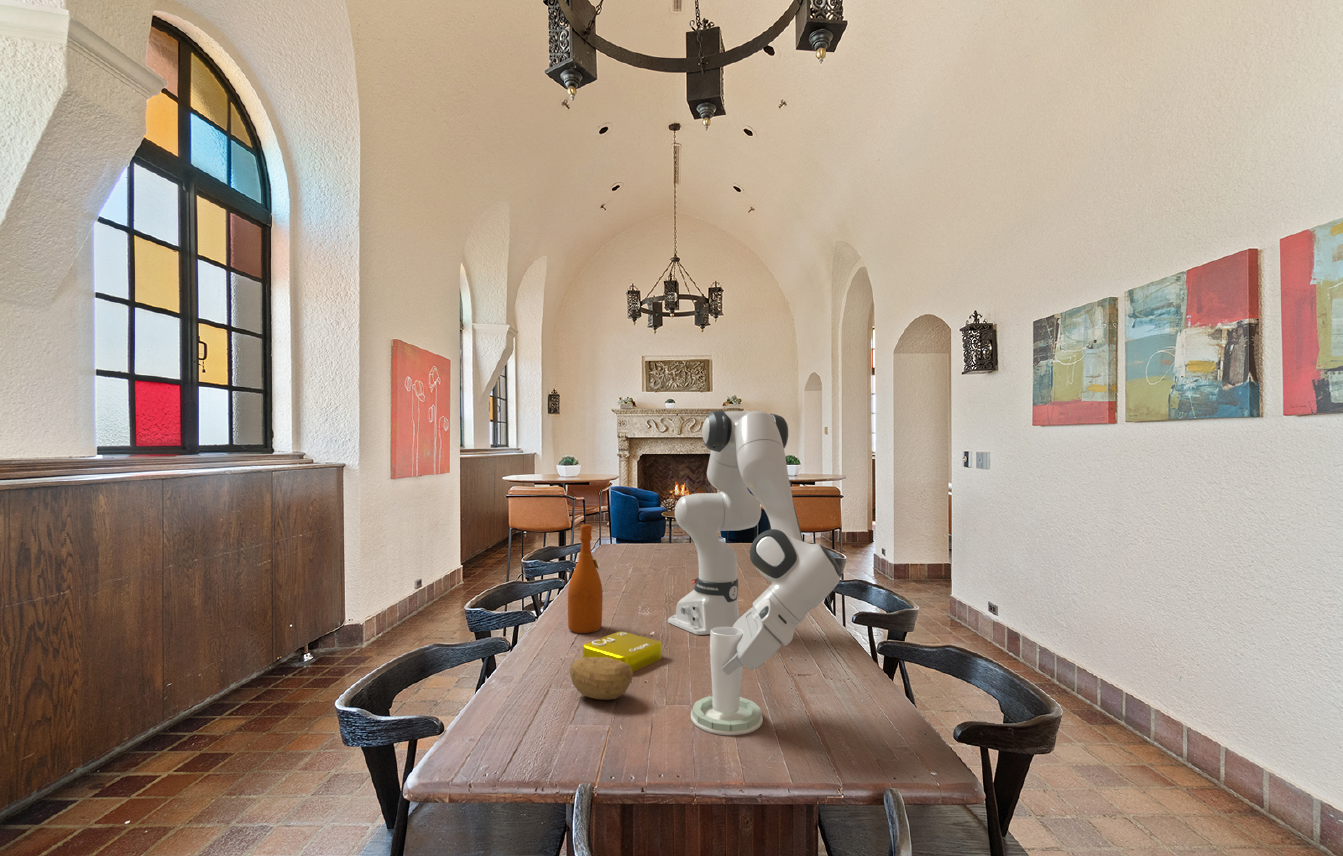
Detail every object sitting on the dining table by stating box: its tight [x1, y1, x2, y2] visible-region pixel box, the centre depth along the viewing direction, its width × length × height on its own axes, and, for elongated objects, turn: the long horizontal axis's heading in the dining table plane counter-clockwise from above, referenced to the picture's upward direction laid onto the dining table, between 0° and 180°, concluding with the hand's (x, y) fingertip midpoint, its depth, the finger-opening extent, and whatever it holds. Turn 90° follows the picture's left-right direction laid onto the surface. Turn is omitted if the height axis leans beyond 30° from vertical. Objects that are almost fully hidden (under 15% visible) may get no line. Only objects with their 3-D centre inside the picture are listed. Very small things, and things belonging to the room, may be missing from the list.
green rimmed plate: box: [690, 695, 764, 737], centre depth 119 cm, size 14×14×2 cm
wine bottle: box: [567, 523, 604, 634], centre depth 175 cm, size 10×10×30 cm
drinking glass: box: [709, 627, 744, 714], centre depth 119 cm, size 7×7×15 cm
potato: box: [569, 657, 634, 701], centre depth 128 cm, size 10×14×8 cm
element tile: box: [582, 630, 663, 673], centre depth 151 cm, size 15×15×5 cm
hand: (723, 663), depth 120 cm, fingers closed on drinking glass, 6 cm apart
